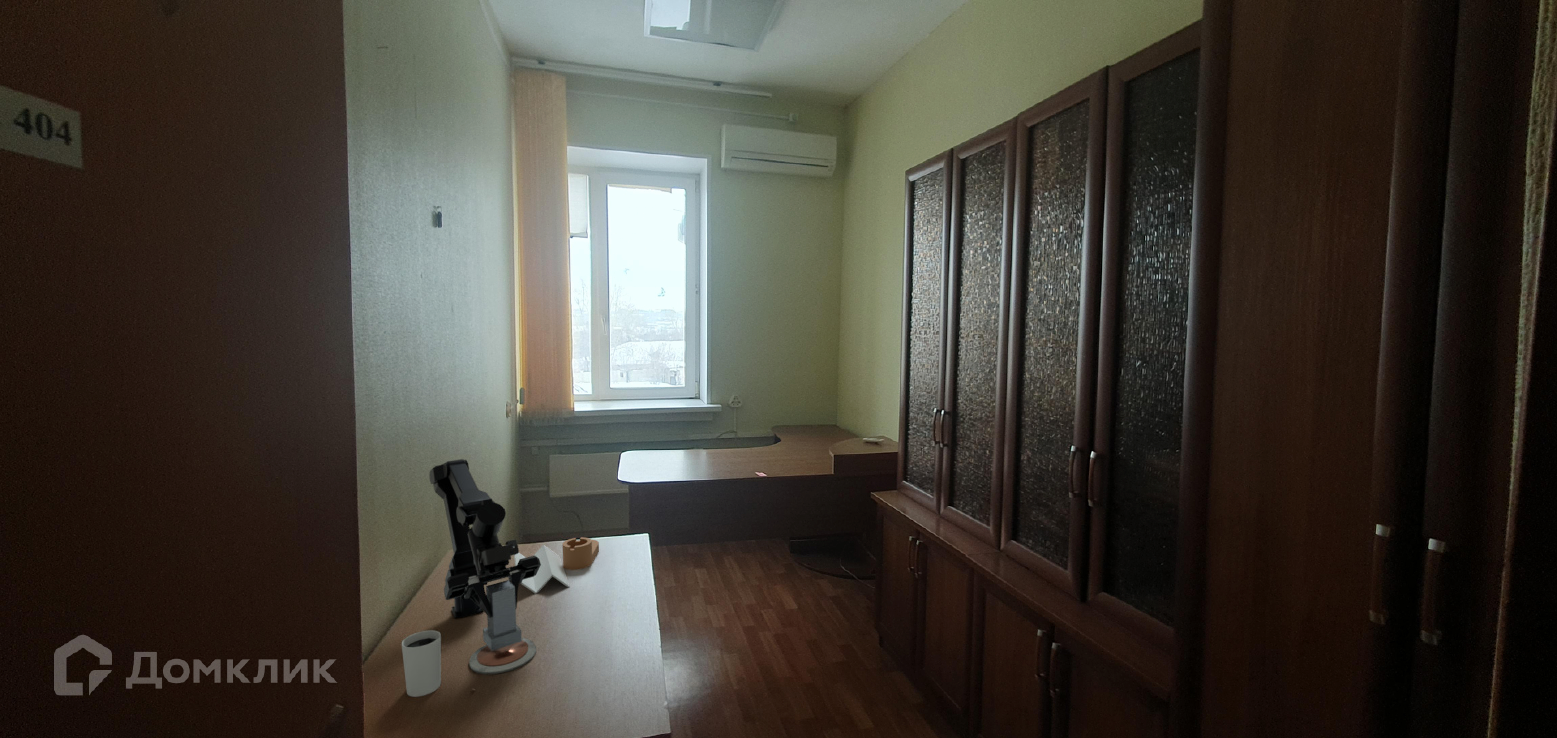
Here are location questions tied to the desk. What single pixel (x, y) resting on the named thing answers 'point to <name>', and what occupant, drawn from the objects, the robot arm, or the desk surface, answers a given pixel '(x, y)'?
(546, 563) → the white zigzag folded sheet
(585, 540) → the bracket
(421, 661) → the white cup
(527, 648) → the copper centred dish
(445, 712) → the desk surface
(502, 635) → the grey stepped block
